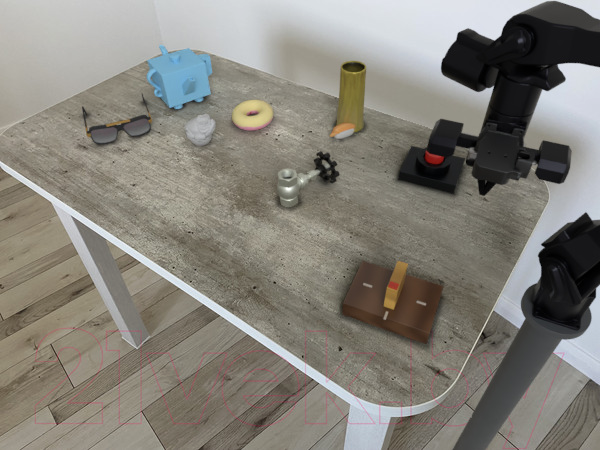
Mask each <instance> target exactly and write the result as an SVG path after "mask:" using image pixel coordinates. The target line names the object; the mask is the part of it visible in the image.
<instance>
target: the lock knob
mask: <svg viewBox="0 0 600 450" xmlns="http://www.w3.org/2000/svg"><path fill="white" fill-rule="evenodd" d="M408 268H409V263H407V262H403V261H400V260H397V261H396V264H395V266H394V269H393V270H394V271H393V273H392V276H391V278H390V281H389V283H388V286H387V289H386V295H385V300H384V307H387V308H390V309H393V310H394V308H395V306H396V303H397V300H398V298H399V295H400V292H401V290H402V287H403V284H404V281H405V277H406V274H407V271H408Z"/></svg>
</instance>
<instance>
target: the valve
mask: <svg viewBox="0 0 600 450" xmlns="http://www.w3.org/2000/svg"><path fill="white" fill-rule="evenodd" d="M315 155H316V157H315V158H314V159H313V162H314V165H315V168H314V169H310V170H309V171H307V172H305V173H303V172H298V173H297V170H295V169H293V168H288V167H287V168H283V169H281V170H279V171H278V172H277V179H278V182H277V185H276V191H277V194H278V196H279V203H280V205H281V206H283V207H286V208H292V207H294V206H296V205H298V204H299V193H300V190H304V189H306V188H308V187H309V182H312V181H314V180H316V179H317V178H318V177H319V178H320V179H322V180H323V182H325V183H326V182H328V181H329V183H330V184H334V183H336V182H337V178H338V177H339V176H340V175H341V174H340V171H338V170H336V168H335V167H337V166H338V163H337V161H336V160H331V154H330V152H326V153H324V152H323V151H322V150H320V151H318V152H316V154H315ZM323 161H326V162H324V163H323ZM330 171H331V172H330ZM328 172H330V173H328Z"/></svg>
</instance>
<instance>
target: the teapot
mask: <svg viewBox="0 0 600 450" xmlns="http://www.w3.org/2000/svg"><path fill="white" fill-rule="evenodd" d="M158 47H159V50H160V52H161V55H160V56H156V57H153V58H150V59H147V60H146V61H147V65H148V69H149V70H148V71H147V73H146V81H147V82H148V83H149V85H151V86H152V87H153V88H154V91H153V95H154V96H155V97H157V98H160V99H161V100H162V101H163V103H165V104H166V106H167V107H168V108H169V109H171V108H173V109H174V110H180V109H182V108H183V107H184V105H183V104H186V103H188V102H192V101H194V102H197V103H201V102H203V101H204V97H207V96H209V95H211V94H212V93H211V88H210V82H209V77H210V76H211V75H212V74H213V67H212V60H211V56H210V55H209V54H208V53H201V54H196V53H195V52H194V51H193V50H192V49H191V48H190V47H187V48H183V49H179V50H177V51H173V52H170V53H169V52H168V49H167V48H166V46H165V45H163V44H160V45H158Z"/></svg>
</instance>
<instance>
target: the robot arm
mask: <svg viewBox="0 0 600 450" xmlns="http://www.w3.org/2000/svg"><path fill="white" fill-rule="evenodd" d="M440 64H441V65H440V72H441V75H442V76H444V77H445V78H447V79H450V80H451V81H453V82H455V83H458V84H459V85H461V86H463V87H465V88H468V89H470V90H472V91H474V92H476V93H482V92H483V91H485V90H486V89H491V88H492V91H491V93H490V98H489V101H488V104H487V108H486V112H485V115H484V118H483V122H482V125H481V128H480V132H479V134H478V135H475V134H471V133H466V132H463V130H464V129H463V128H464V125H465V124H464V123H463V122H460V121H454V120H449V119H445V118H440V119H438V120H436V121H435V123H434V125H433V127H432V130H431V133H430V134H429V138H428V141H427V146H426V148H427V150H426V151H427V152H428V153H429V154H433V155H438V156H442V157H446V158H447V157H449V156H452V155H453V156H455V155H454V154H455V151H456V148H457V147H459V148H462V149H467V154H466V155H467V156H466V158H465V161H464V164H465V165H466V166H467V167H470V168H472V169H471V176H472V177H473V178H474V179H475V180H477V189H478V194H479V196H483V197H485V196H486V195H487V194H488V193H489V192H490V191H491V190H492V189H493V188H494V187H495V186H496V185H500V186H504V185H506V184H508V183H509V181H510V180H514V181H520V179H525V180H526V179H527V178H528V176H529V174H530V172H531V169H532V167H533V166H536V168H535V170H534V174H535V176H536V178H537V179H538V180H541V181H545V182H549V183H553V184H556V185H557V184H558V185H561V184H564V183H565V181H566V180H567V177H568V175H569V172H570V171H571V170H570V169H571V162H572V154H573V153H572V151H573V150H572V148H571V147H570V145H567V144H563V143H558V142H553V141H549V140H545V139H543V140H542V141H541V142H540V145H539V147H538V149H536V148H531V147H528V146H527V144H526V143H525V138H526V135H527V132H528V129H529V127H530V125H531V124H530V123H531V122H532V118H533V116H534V113H535V110H536V108H537V106H538V102H539V100H540V98H541V95H542V92H543V91H545V92H549V91H551V90H553V89H555V88H556V87H558V86H560V85H562V84H563V83H565V82H566V80H567V79H566V76H565V75H564V73H563V71H562V70H560V67H559V65H563V64H580V65H585V66H589V67H590V66H591V67H596V68H600V19H599V18H596V17H594V16H592V15H591V14H590V13H588V12H587V11H585V9H583V8H580V7H578V6H577V7H576V6H573V5H570V4H567V3H564V2H561V1H558V0H547V1H544V2H541V3H539V4H536V5H534V6H532V7H529V8H527V9H526V10H523V11H520V12H519V13H517V14H515V15H512V16H511V17H510V18H509V19H508V20H507V21H506V22H505V24H504V25H503V27H502V31H501V34H500V36H498V37H497V38H496V39H491V38H489V37H487V36H485V35H482V34H480V33H479V32H477V31H476V30H474V29H472V28H469V27H467V28H465V29H463V30H460V31H458V32H457V34H456V39H455V40H454V42H453V43H452V44H451V45H450V46H449V48H448V50H447V51H446V53H445V55H444V57H442V60H441V63H440ZM540 245H541V247H543V248H542V249H541V250H539V252H538V254H537V257H538V262H539V265H540V277H539V279H538V280H537V282H536V283H537V284H536V283H535V284H536V286H535V288H534V290H533V295H532V302H531V303H532V304H534V305H533V313H532V315H533V316H534V317H535V318H538V319H541V320H544V321H547V322H551V323H554V324H557V325H560V326H563V327H566V328H570V329H573V330H576V331H578V330H579V329H580V328H581V318H582V317H583V315H584V314H585V312H586V311H587V309H588V308H590V307H591V305H592V304H593V303H594V301H595V300H596V298H597V288H598V287H600V219H592V218H591V217H590V215H589V214H588V213H587V212H586V211H585V212H584V213H583V214H581V215H580V216H579V217H578V218H576V220H574V221H571V222H567V223H566V224H564V225H563V226H561V227H560V228H559V229H558V230H557V231H555V232H554V233H552V235H550V236H549V237H547V238H546V239H545V240H544V241H543V242H542V243H541V244H540ZM536 314H537V315H536ZM575 326H576V327H575Z"/></svg>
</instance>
